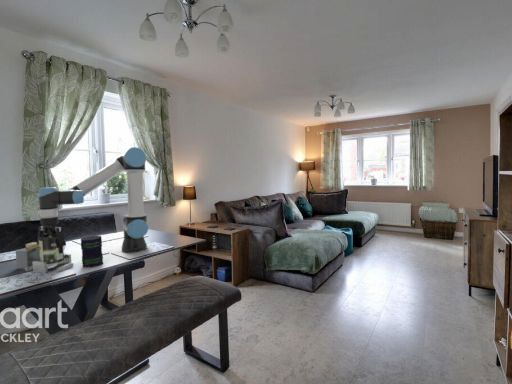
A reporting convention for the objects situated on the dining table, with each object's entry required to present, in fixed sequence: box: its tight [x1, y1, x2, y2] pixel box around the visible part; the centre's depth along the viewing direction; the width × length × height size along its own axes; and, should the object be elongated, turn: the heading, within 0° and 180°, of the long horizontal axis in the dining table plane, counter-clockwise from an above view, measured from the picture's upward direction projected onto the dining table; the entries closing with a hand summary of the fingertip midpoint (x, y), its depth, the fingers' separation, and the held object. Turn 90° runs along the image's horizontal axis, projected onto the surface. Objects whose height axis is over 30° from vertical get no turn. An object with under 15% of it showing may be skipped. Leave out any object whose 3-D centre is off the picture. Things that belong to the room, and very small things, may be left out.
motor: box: [15, 241, 74, 274], centre depth 146 cm, size 14×29×12 cm, turn 74°
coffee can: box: [37, 235, 65, 267], centre depth 144 cm, size 10×10×14 cm
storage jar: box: [80, 235, 104, 269], centre depth 148 cm, size 10×10×15 cm
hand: (52, 258), depth 144 cm, fingers closed on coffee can, 10 cm apart
